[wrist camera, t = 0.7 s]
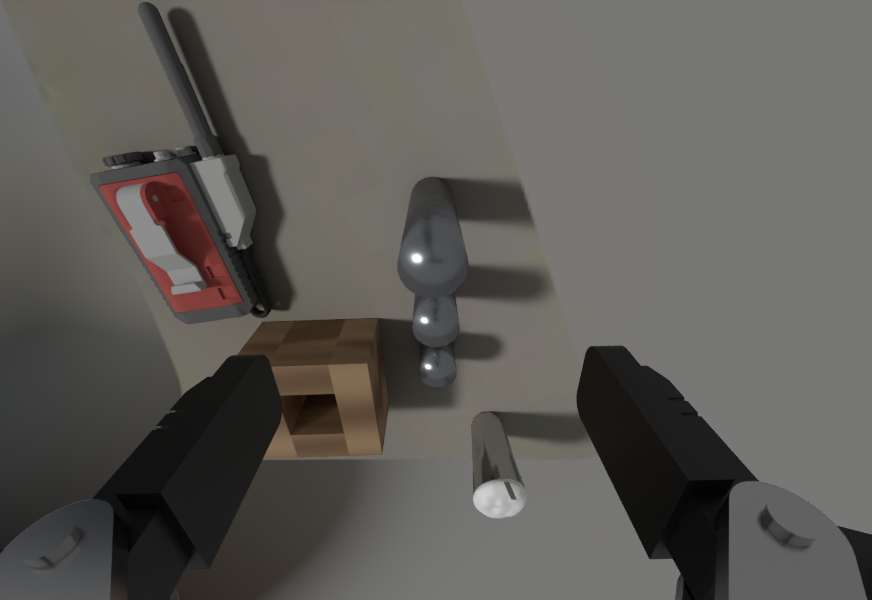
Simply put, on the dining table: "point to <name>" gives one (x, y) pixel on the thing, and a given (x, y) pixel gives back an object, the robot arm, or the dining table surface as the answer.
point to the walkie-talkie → (187, 210)
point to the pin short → (437, 365)
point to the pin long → (432, 242)
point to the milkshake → (495, 469)
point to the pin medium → (435, 320)
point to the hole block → (326, 386)
